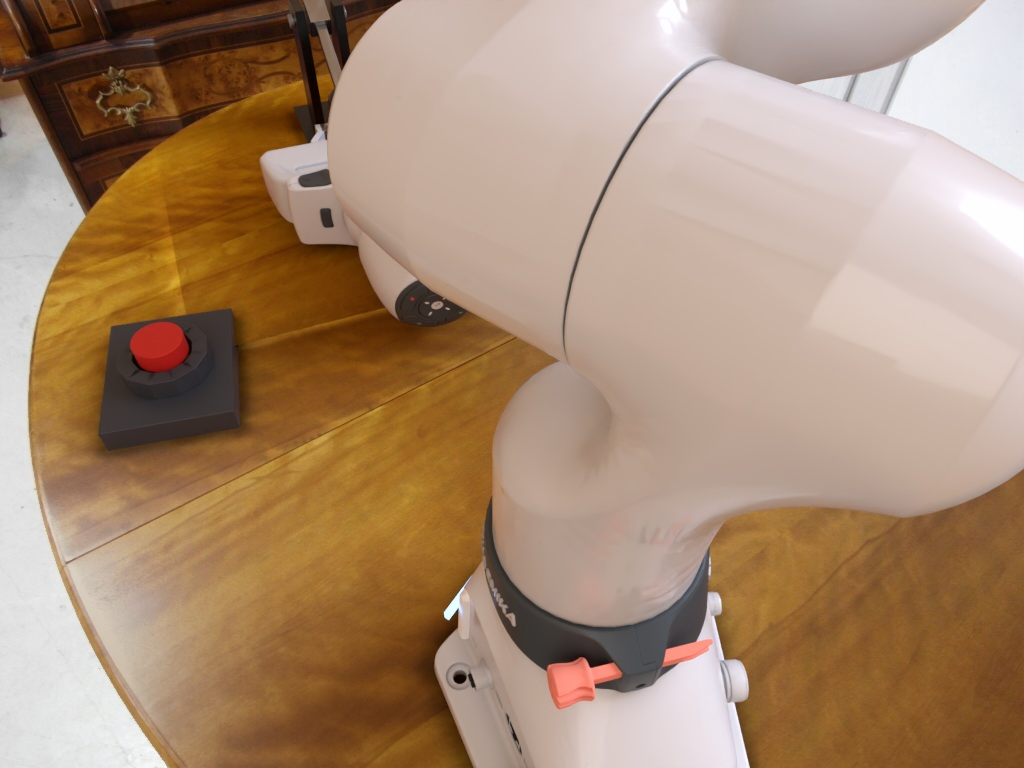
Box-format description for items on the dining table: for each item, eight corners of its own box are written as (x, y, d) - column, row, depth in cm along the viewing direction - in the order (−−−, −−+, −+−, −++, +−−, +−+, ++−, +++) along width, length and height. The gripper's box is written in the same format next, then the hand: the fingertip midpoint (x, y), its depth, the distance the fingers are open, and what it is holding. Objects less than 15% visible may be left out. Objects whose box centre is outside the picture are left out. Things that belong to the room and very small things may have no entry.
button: (189, 368, 61) (182, 352, 60) (136, 376, 61) (128, 361, 59) (189, 333, 64) (183, 317, 63) (138, 341, 63) (131, 325, 62)
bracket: (379, 141, 90) (363, 12, 79) (311, 155, 88) (284, 23, 76) (359, 104, 95) (342, -23, 84) (294, 116, 93) (267, -13, 82)
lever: (367, 125, 82) (368, 105, 78) (333, 132, 81) (333, 112, 77) (331, 15, 84) (330, -9, 81) (298, 20, 83) (295, -4, 80)
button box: (240, 427, 62) (227, 395, 59) (108, 451, 60) (88, 419, 57) (237, 325, 70) (225, 292, 67) (120, 343, 68) (102, 310, 65)
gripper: (486, 147, 74) (440, 79, 82) (270, 192, 69) (244, 114, 77) (487, 202, 79) (443, 133, 87) (285, 248, 73) (259, 169, 82)
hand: (348, 124), depth 82 cm, fingers open, 4 cm apart
